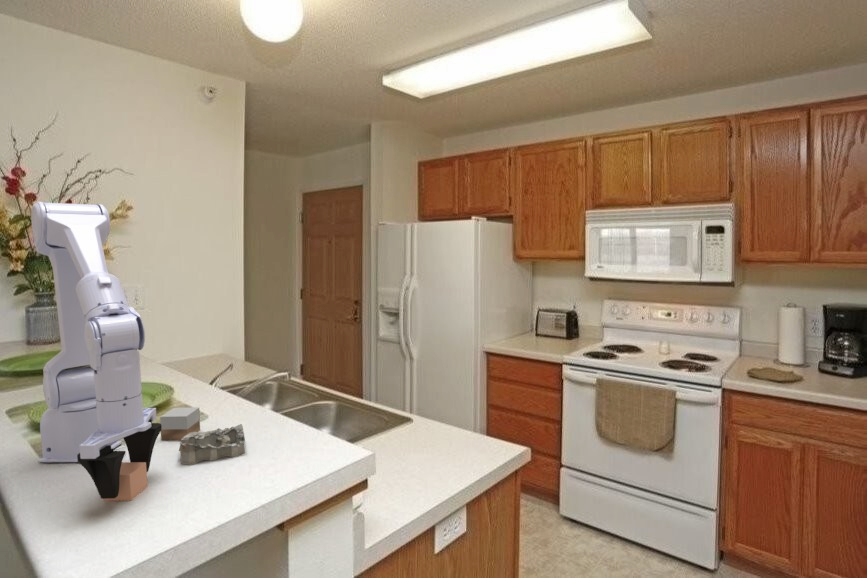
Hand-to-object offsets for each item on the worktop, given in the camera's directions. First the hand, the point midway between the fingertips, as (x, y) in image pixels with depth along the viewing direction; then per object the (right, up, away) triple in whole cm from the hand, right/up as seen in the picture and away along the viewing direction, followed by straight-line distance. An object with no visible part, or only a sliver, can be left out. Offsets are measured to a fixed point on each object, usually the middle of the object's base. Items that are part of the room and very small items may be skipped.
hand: (125, 484), depth 73 cm
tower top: (-3, +3, +22) cm, 22 cm away
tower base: (-3, 0, +22) cm, 22 cm away
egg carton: (+7, 0, +14) cm, 16 cm away
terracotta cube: (0, -2, 0) cm, 2 cm away
